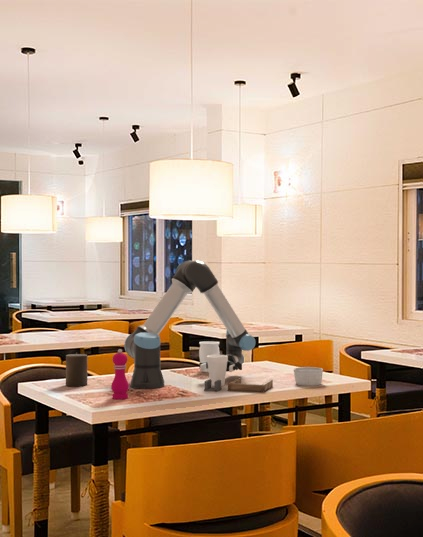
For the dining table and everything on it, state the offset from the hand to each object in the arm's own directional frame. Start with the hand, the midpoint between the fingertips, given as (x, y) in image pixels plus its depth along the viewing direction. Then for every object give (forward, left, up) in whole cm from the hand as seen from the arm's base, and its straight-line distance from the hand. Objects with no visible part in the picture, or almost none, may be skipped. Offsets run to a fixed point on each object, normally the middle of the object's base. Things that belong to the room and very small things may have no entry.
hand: (215, 368), depth 337 cm
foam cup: (+3, +2, -8) cm, 9 cm away
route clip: (-8, -7, -8) cm, 14 cm away
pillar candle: (-43, +46, -8) cm, 63 cm away
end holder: (+6, -16, -8) cm, 19 cm away
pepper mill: (-49, +4, -8) cm, 50 cm away
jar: (+30, +37, -8) cm, 48 cm away
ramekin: (+34, -25, -8) cm, 43 cm away
